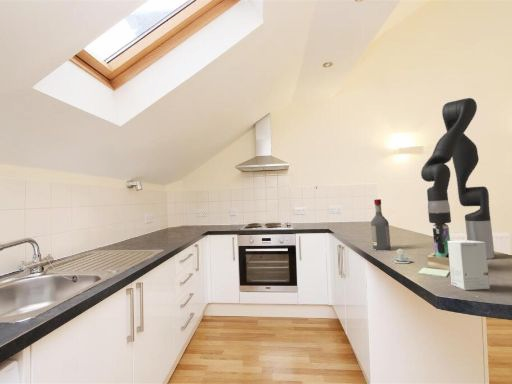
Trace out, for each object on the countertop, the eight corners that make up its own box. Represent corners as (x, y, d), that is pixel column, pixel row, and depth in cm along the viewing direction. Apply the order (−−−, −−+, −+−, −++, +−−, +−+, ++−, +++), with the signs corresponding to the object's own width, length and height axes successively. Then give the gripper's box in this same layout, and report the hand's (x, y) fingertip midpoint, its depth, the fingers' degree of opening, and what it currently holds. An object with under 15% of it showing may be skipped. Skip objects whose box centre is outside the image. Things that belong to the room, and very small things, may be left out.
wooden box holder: (433, 264, 112) (432, 252, 113) (460, 266, 106) (459, 254, 106) (428, 268, 105) (427, 256, 106) (457, 272, 99) (456, 259, 99)
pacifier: (411, 264, 114) (409, 261, 120) (410, 250, 115) (408, 248, 120) (393, 264, 117) (392, 260, 123) (392, 250, 117) (391, 247, 123)
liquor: (389, 248, 155) (385, 199, 156) (391, 250, 146) (386, 198, 148) (372, 247, 158) (368, 199, 160) (373, 250, 149) (369, 199, 151)
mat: (423, 268, 106) (423, 267, 106) (449, 271, 100) (449, 270, 100) (417, 273, 100) (417, 272, 100) (446, 277, 93) (446, 275, 93)
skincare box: (464, 290, 79) (459, 242, 80) (450, 284, 85) (445, 240, 86) (491, 289, 79) (486, 241, 80) (475, 283, 85) (470, 238, 86)
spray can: (437, 265, 109) (432, 218, 111) (453, 266, 106) (448, 218, 107) (436, 268, 105) (431, 220, 106) (452, 269, 102) (447, 219, 103)
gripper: (431, 210, 115) (435, 248, 114) (424, 212, 104) (428, 254, 103) (452, 210, 109) (456, 249, 108) (447, 212, 99) (451, 255, 98)
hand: (442, 251), depth 106 cm, fingers closed on spray can, 5 cm apart
